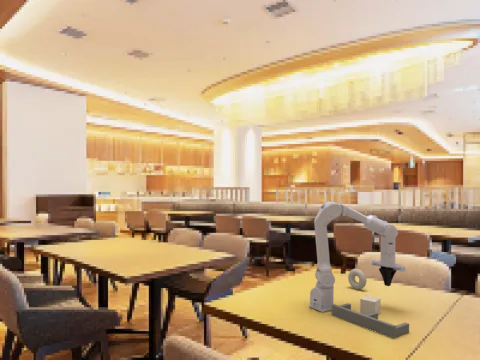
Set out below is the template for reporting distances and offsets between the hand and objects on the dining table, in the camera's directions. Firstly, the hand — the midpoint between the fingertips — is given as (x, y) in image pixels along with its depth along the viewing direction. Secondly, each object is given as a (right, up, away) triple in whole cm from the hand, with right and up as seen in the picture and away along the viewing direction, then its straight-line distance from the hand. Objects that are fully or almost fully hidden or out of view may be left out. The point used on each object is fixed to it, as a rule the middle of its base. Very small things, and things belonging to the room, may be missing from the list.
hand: (387, 285), depth 157 cm
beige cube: (-10, -10, -7) cm, 15 cm away
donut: (-4, -10, +28) cm, 30 cm away
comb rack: (-14, -9, -17) cm, 24 cm away
